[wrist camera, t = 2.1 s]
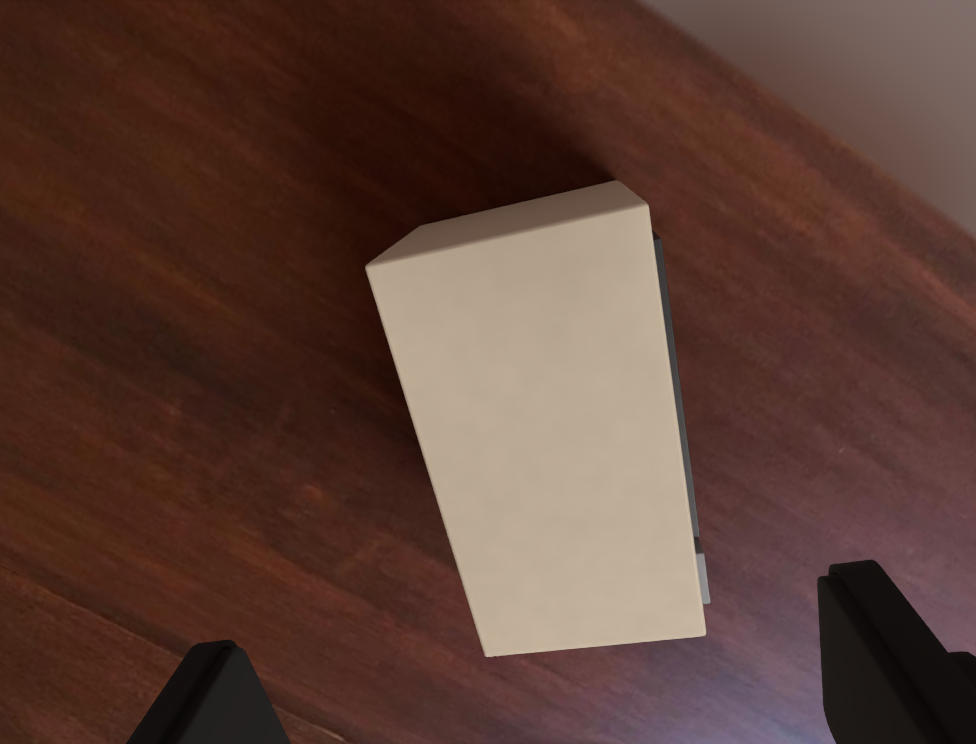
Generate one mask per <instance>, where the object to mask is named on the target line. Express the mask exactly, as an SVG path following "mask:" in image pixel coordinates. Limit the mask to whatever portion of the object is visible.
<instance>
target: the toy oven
mask: <svg viewBox="0 0 976 744" xmlns="http://www.w3.org/2000/svg"><path fill="white" fill-rule="evenodd" d="M365 269H366V272H367V275H368V279H369V282H370V285H371V288H372V292H373V295H374V298H375V301H376V305H377V308H378V311H379V314H380V318H381V321H382V324H383V327H384V331H385V334H386V337H387V340H388V344H389V347H390V350H391V353H392V357H393V360H394V363H395V366H396V369H397V373H398V376H399V379H400V382H401V386H402V389H403V392H404V395H405V399H406V402H407V405H408V408H409V412H410V415H411V418H412V421H413V425H414V428H415V431H416V434H417V438H418V441H419V444H420V447H421V450H422V454H423V457H424V460H425V463H426V467H427V470H428V473H429V476H430V480H431V483H432V486H433V489H434V493H435V496H436V499H437V502H438V506H439V509H440V512H441V515H442V519H443V522H444V525H445V528H446V531H447V535H448V538H449V541H450V544H451V548H452V551H453V554H454V557H455V561H456V564H457V567H458V570H459V574H460V577H461V580H462V583H463V587H464V590H465V593H466V596H467V600H468V603H469V606H470V609H471V613H472V616H473V619H474V622H475V625H476V629H477V632H478V635H479V638H480V642H481V645H482V648H483V651H484V654H485V656H487V657H490V656H501V655H511V654H522V653H532V652H542V651H553V650H563V649H574V648H584V647H595V646H605V645H616V644H626V643H636V642H647V641H657V640H668V639H678V638H689V637H699V636H705V635H706V626H705V619H704V612H703V604H708V603H710V596H709V588H708V581H707V573H706V565H705V558H704V552H703V549H702V546H701V543H700V541H699V538H698V537H699V536H700V531H699V524H698V516H697V508H696V501H695V493H694V485H693V478H692V470H691V462H690V455H689V447H688V439H687V432H686V424H685V416H684V409H683V401H682V393H681V386H680V378H679V370H678V363H677V355H676V348H675V340H674V332H673V325H672V317H671V309H670V302H669V294H668V286H667V279H666V271H665V263H664V256H663V248H662V240H661V238H660V237H659V236H658V235H657V234H656V233H655V232H654V231H653V230H652V228H651V220H650V213H649V206H648V204H647V203H646V202H645V201H644V200H643V199H641V198H640V197H639V196H637V195H636V194H635V193H634V192H632V191H631V190H630V189H628V188H627V187H626V186H625V185H623V184H622V183H621V182H620V181H617V180H615V181H611V182H607V183H603V184H598V185H594V186H590V187H585V188H581V189H577V190H572V191H568V192H564V193H559V194H555V195H551V196H546V197H542V198H538V199H533V200H529V201H525V202H520V203H516V204H512V205H508V206H503V207H499V208H495V209H490V210H486V211H482V212H477V213H473V214H469V215H464V216H460V217H456V218H451V219H447V220H443V221H438V222H434V223H430V224H425V225H421V226H419V227H418V228H416V229H415V230H413V231H412V232H411V233H409V234H408V235H407V236H405V237H404V238H403V239H401V240H400V241H398V242H397V243H396V244H394V245H393V246H392V247H390V248H389V249H387V250H386V251H385V252H383V253H382V254H381V255H379V256H378V257H376V258H375V259H374V260H372V261H371V262H370V263H368V264H367V265H366V267H365Z"/></svg>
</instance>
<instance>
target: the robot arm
mask: <svg viewBox="0 0 976 744" xmlns="http://www.w3.org/2000/svg"><path fill="white" fill-rule="evenodd" d="M817 587H818V607H819V627H820V647H821V668H822V688H823V706H824V712H825V716H826V720H827V723H828V726H829V728H830V731H831V733H832V735H833V738H834V740H835V742H836V744H976V657H975V656H974V655H972V654H970V653H969V652H961V651H960V652H950V653H948V652H947V651H946V649H945V648H944V647H943V646H942V644H941V643H940V642H939V640H938V639H937V638H936V637H935V635H934V634H933V633H932V631H931V630H930V629H929V628H928V626H927V625H926V624H925V622H924V621H923V620H922V619H921V617H920V616H919V615H918V613H917V612H916V611H915V610H914V608H913V607H912V606H911V605H910V603H909V602H908V601H907V599H906V598H905V597H904V596H903V594H902V593H901V592H900V590H899V589H898V588H897V587H896V585H895V584H894V583H893V581H892V580H891V579H890V578H889V576H888V575H887V574H886V573H885V571H884V570H883V569H882V567H881V566H880V565H879V564H878V563H877V562H876V561H874V560H865V561H857V562H849V563H841V564H833V565H830V567H829V574H828V576H821V577H818V581H817ZM126 744H291V743H290V741H289V739H288V737H287V735H286V733H285V731H284V729H283V727H282V725H281V723H280V721H279V719H278V717H277V715H276V713H275V711H274V709H273V707H272V705H271V703H270V701H269V699H268V696H267V694H266V692H265V690H264V688H263V686H262V684H261V682H260V680H259V678H258V676H257V674H256V672H255V670H254V668H253V666H252V664H251V662H250V660H249V658H248V656H247V654H246V652H245V651H244V649H242V648H240V647H239V648H238V646H237V645H236V643H235V642H233V641H232V640H221V641H213V642H205V643H198V644H196V645H194V646H193V647H192V648H191V649H190V650H189V652H188V653H187V655H186V656H185V657H184V659H183V660H182V662H181V663H180V665H179V666H178V668H177V669H176V671H175V672H174V674H173V675H172V677H171V678H170V680H169V681H168V683H167V684H166V685H165V687H164V688H163V690H162V691H161V693H160V694H159V696H158V697H157V699H156V700H155V702H154V703H153V705H152V706H151V708H150V709H149V711H148V712H147V713H146V715H145V716H144V718H143V719H142V721H141V722H140V724H139V725H138V727H137V728H136V730H135V731H134V733H133V734H132V736H131V737H130V739H129V740H128V742H127V743H126Z"/></svg>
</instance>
